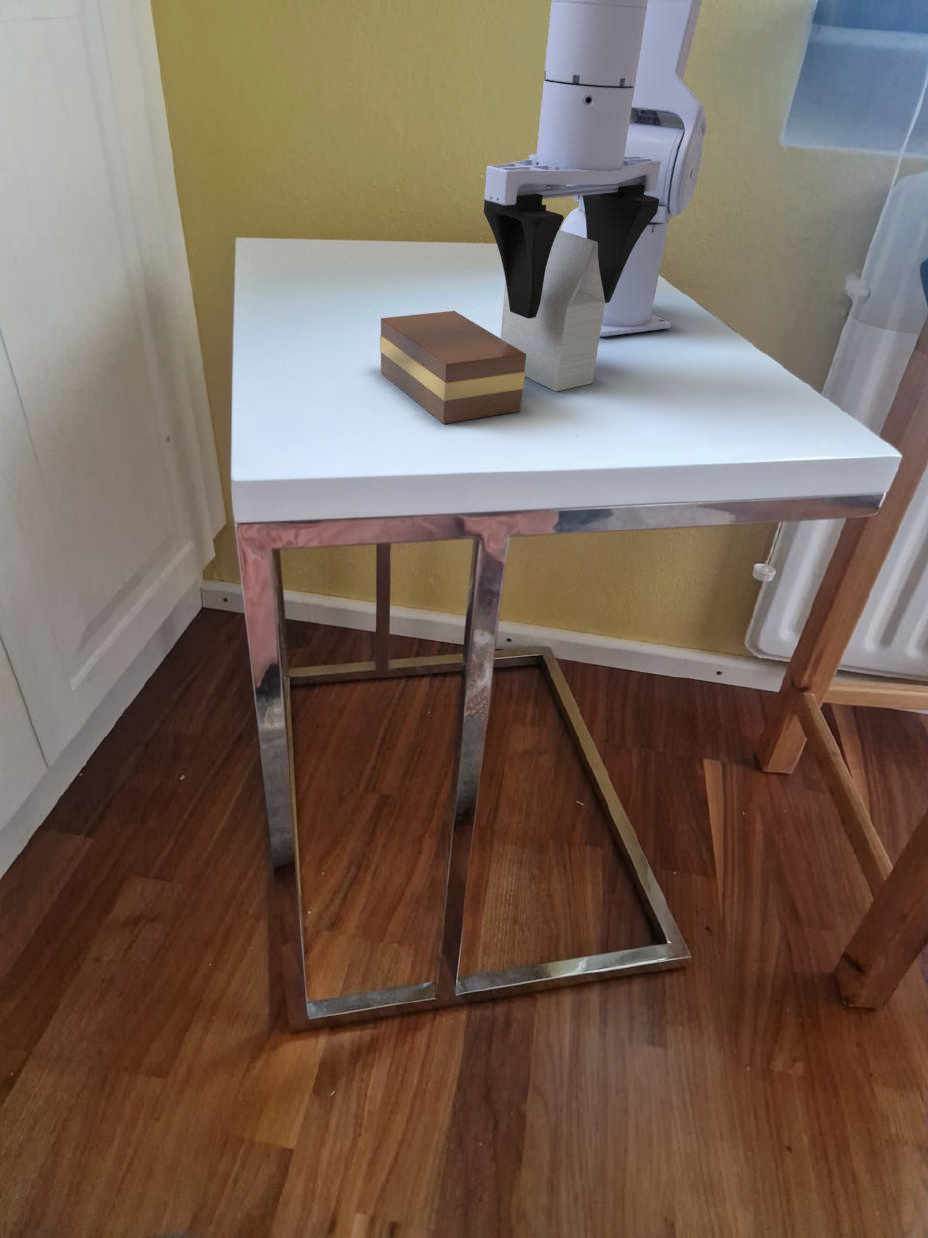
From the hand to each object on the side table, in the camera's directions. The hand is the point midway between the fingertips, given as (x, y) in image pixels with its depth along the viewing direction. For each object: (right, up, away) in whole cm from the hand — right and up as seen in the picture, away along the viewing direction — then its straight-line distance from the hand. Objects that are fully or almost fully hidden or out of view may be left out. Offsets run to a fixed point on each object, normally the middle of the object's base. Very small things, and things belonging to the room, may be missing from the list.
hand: (561, 306), depth 60 cm
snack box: (-8, -6, -1) cm, 10 cm away
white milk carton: (-1, -4, +4) cm, 5 cm away
